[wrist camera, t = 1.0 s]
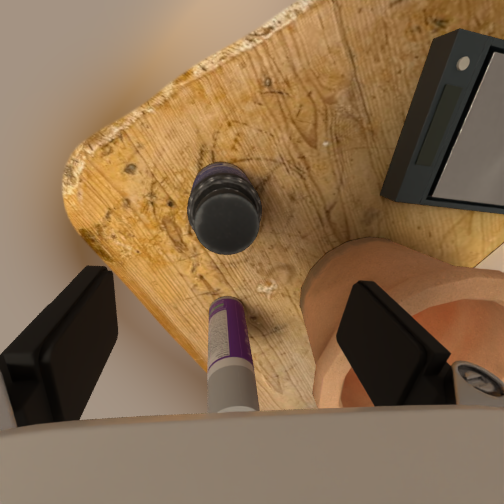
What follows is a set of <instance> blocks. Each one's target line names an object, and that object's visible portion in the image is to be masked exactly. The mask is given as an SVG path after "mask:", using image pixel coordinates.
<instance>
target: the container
mask: <svg viewBox="0 0 504 504" xmlns="http://www.w3.org/2000/svg"><path fill="white" fill-rule="evenodd" d="M245 411H260V410H259V402H258V395H257V388H256V381H255V373H254V366H253V360H252V354H251V349H250V343H249V337H248V331H247V325H246V319H245V313H244V308H243V305H242V303H241V302H240V301H239V300H238V299H236V298H234V297H230V296H225V297H221V298H218V299H216V300H215V301H214V302H213V303H212V304H211V306H210V308H209V335H208V413H222V412H245Z"/></svg>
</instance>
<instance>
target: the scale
mask: <svg viewBox="0 0 504 504" xmlns="http://www.w3.org/2000/svg"><path fill="white" fill-rule="evenodd" d="M492 52H497V53H501V54H504V40H502V39H498V38H494V37H491V36H487V35H483V34H479V33H475V32H472V31H468V30H464V29H457V30H455V31H452V32H450V33H447V34H445V35H442V36H440V37H437V38H434V39H433V42H432V44H431V47H430V50H429V53H428V56H427V59H426V62H425V65H424V68H423V71H422V74H421V76H420V79H419V82H418V85H417V88H416V91H415V94H414V97H413V100H412V103H411V106H410V108H409V111H408V114H407V117H406V120H405V123H404V126H403V129H402V132H401V135H400V138H399V140H398V143H397V146H396V149H395V152H394V155H393V158H392V161H391V164H390V167H389V170H388V172H387V175H386V178H385V181H384V184H383V187H382V190H381V193H380V196H383V197H385V198H388V199H390V200H393V201H395V202H403V203H412V204H420V205H429V206H438V207H446V208H455V209H464V210H472V211H481V212H490V213H499V214H504V206H503V205H495V204H486V203H478V202H470V201H462V200H454V199H445V198H437V197H431V196H428V193H429V191H430V188H431V186H432V184H433V181H434V179H435V176H436V174H437V172H438V169H439V167H440V165H441V162H442V160H443V157H444V155H445V153H446V150H447V148H448V146H449V143H450V141H451V138H452V136H453V134H454V131H455V129H456V127H457V124H458V122H459V119H460V117H461V115H462V112H463V110H464V107H465V105H466V103H467V100H468V98H469V96H470V93H471V91H472V88H473V86H474V84H475V81H476V79H477V77H478V74H479V72H480V69H481V67H482V65H483V62H484V60H485V58H486V55H487V54H488V53H492Z"/></svg>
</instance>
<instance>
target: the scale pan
mask: <svg viewBox="0 0 504 504" xmlns="http://www.w3.org/2000/svg"><path fill="white" fill-rule="evenodd" d="M428 196H431V197H437V198H445V199H454V200H462V201H470V202H478V203H486V204H495V205H503V206H504V54H501V53H497V52H492V53H488V54H487V55H486V58H485V60H484V62H483V65H482V67H481V69H480V72H479V74H478V77H477V79H476V81H475V84H474V86H473V88H472V91H471V93H470V96H469V98H468V100H467V103H466V105H465V107H464V110H463V112H462V115H461V117H460V119H459V122H458V124H457V127H456V129H455V131H454V134H453V136H452V138H451V141H450V143H449V146H448V148H447V150H446V153H445V155H444V157H443V160H442V162H441V165H440V167H439V169H438V172H437V174H436V176H435V179H434V181H433V184H432V186H431V188H430V191H429V193H428Z"/></svg>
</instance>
